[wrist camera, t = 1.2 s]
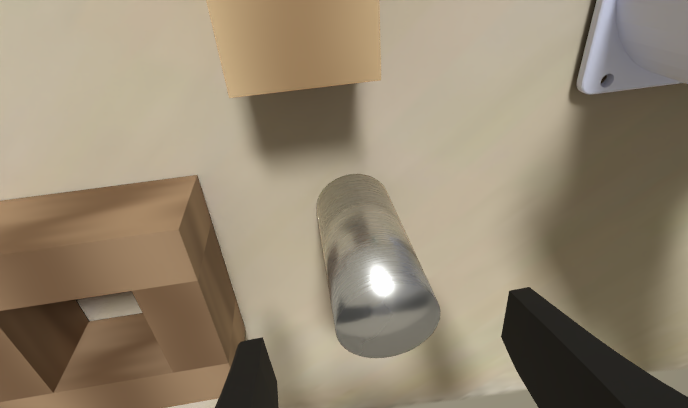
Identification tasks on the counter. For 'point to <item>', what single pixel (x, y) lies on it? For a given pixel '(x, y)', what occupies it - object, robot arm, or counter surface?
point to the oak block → (295, 43)
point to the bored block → (108, 278)
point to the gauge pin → (372, 271)
